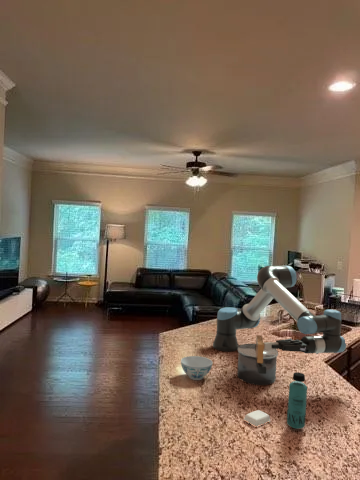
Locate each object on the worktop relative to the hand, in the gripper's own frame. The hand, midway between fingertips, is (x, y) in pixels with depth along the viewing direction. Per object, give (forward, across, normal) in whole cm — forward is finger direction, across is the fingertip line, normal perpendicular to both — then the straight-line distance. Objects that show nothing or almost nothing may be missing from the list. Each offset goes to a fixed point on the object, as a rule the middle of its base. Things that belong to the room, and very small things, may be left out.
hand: (263, 345), depth 169 cm
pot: (-3, +12, -20) cm, 23 cm away
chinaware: (+26, +17, -20) cm, 37 cm away
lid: (-2, +10, -8) cm, 13 cm away
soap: (+13, -25, -20) cm, 35 cm away
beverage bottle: (+1, -32, -20) cm, 38 cm away
